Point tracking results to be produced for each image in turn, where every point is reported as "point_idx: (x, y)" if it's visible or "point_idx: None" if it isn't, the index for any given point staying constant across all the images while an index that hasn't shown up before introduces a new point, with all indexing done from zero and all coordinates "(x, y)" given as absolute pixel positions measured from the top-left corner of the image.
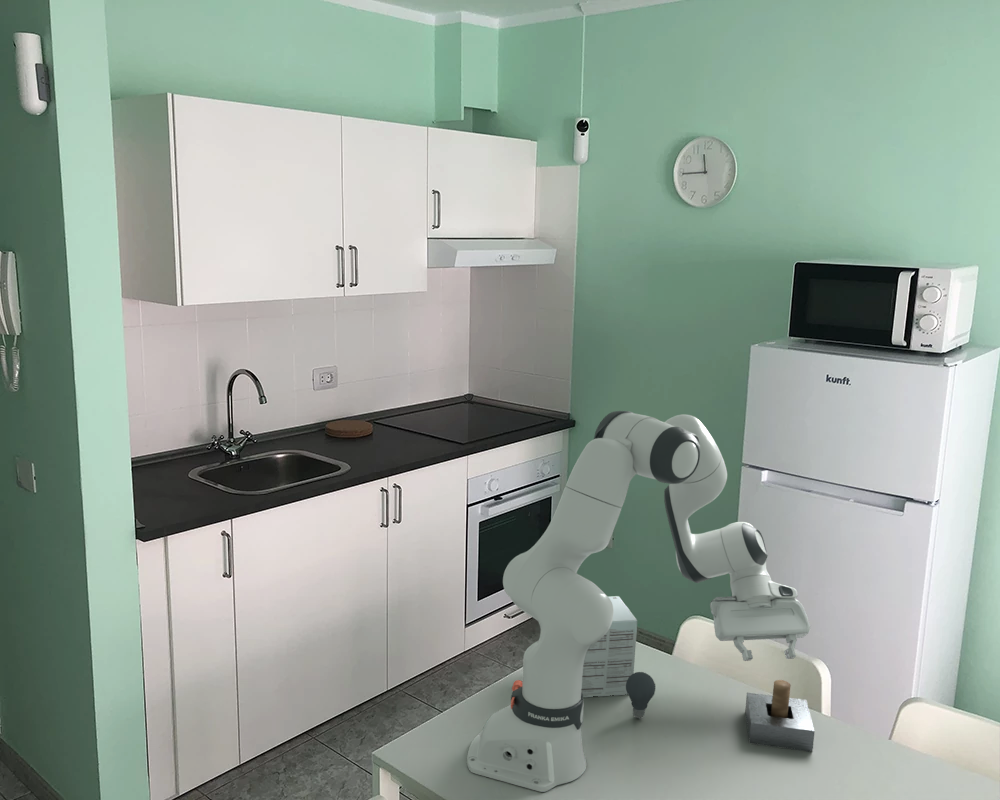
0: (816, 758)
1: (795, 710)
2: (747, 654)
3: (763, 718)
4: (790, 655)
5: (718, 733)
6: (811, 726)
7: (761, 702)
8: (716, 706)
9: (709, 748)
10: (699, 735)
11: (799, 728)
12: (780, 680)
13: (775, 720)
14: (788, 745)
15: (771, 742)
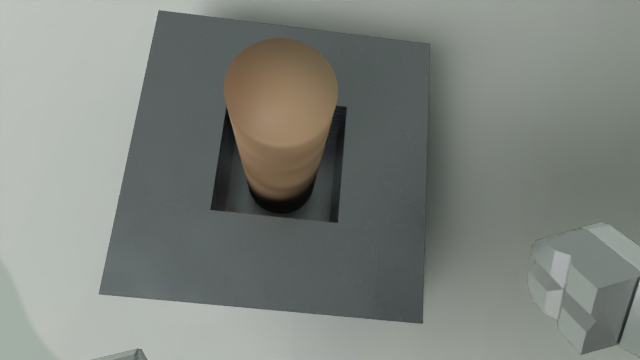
0: None
1: (196, 172)
2: (610, 242)
3: (371, 81)
4: (117, 354)
5: (510, 140)
6: (160, 43)
7: (358, 227)
8: (515, 349)
9: (540, 47)
10: (576, 119)
11: (223, 21)
12: (283, 135)
13: None
14: None
15: None
